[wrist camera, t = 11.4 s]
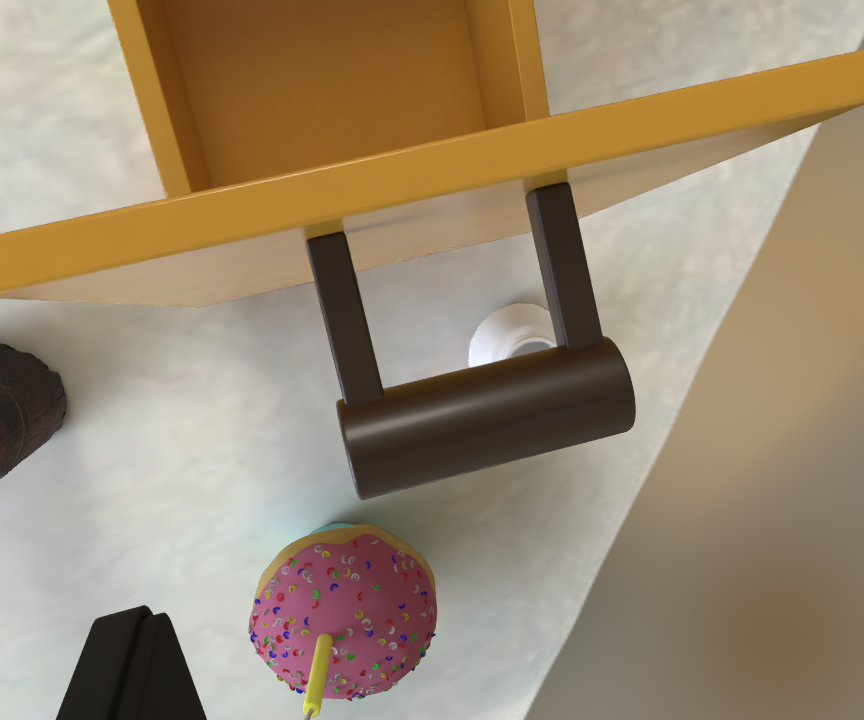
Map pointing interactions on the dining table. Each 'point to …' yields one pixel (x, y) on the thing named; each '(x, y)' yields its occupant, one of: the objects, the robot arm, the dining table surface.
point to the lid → (429, 234)
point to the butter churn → (26, 406)
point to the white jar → (512, 334)
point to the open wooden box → (320, 79)
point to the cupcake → (344, 613)
